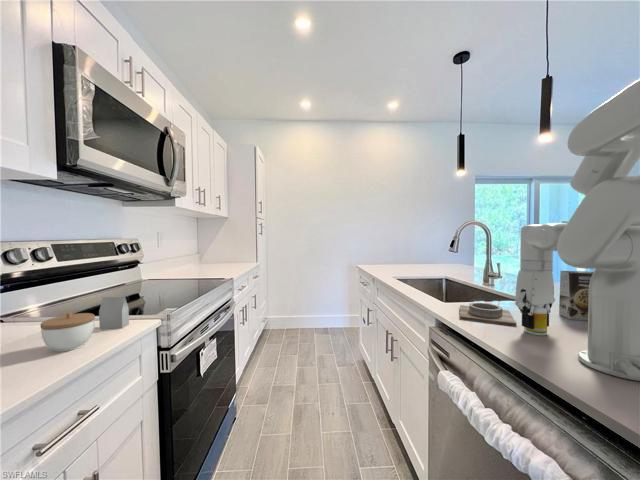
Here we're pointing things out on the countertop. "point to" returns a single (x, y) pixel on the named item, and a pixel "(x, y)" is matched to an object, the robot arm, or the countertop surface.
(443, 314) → the countertop surface
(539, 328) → the supplement bottle
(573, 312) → the cookie box
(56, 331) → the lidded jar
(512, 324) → the mount board
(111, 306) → the grey gabled block
